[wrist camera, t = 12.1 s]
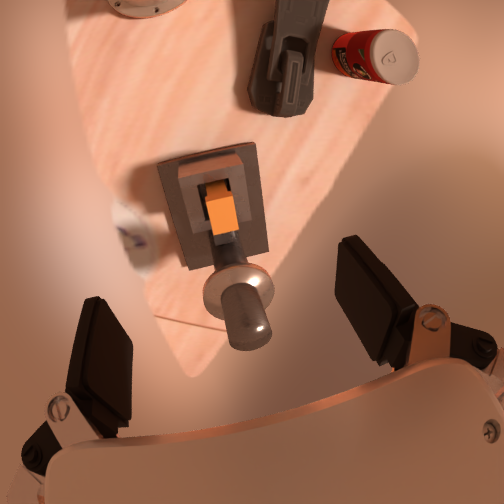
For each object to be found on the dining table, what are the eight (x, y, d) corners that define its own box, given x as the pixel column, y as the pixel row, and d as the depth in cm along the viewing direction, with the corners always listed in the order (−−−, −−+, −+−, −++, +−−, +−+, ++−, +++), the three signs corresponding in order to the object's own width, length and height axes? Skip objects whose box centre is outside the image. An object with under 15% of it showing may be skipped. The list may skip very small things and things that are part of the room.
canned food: (320, 52, 33) (361, 50, 24) (352, 23, 30) (397, 18, 22) (352, 88, 37) (396, 98, 28) (381, 59, 34) (428, 64, 26)
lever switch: (157, 163, 38) (138, 245, 21) (253, 142, 39) (312, 205, 22) (189, 266, 49) (199, 371, 32) (267, 247, 51) (310, 343, 34)
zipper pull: (344, -38, 19) (323, 126, 33) (322, -27, 25) (304, 118, 39) (277, -57, 17) (255, 119, 31) (263, -41, 23) (244, 112, 37)
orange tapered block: (200, 171, 39) (205, 202, 31) (221, 166, 39) (232, 195, 31) (206, 198, 42) (213, 235, 33) (226, 194, 42) (238, 229, 34)
